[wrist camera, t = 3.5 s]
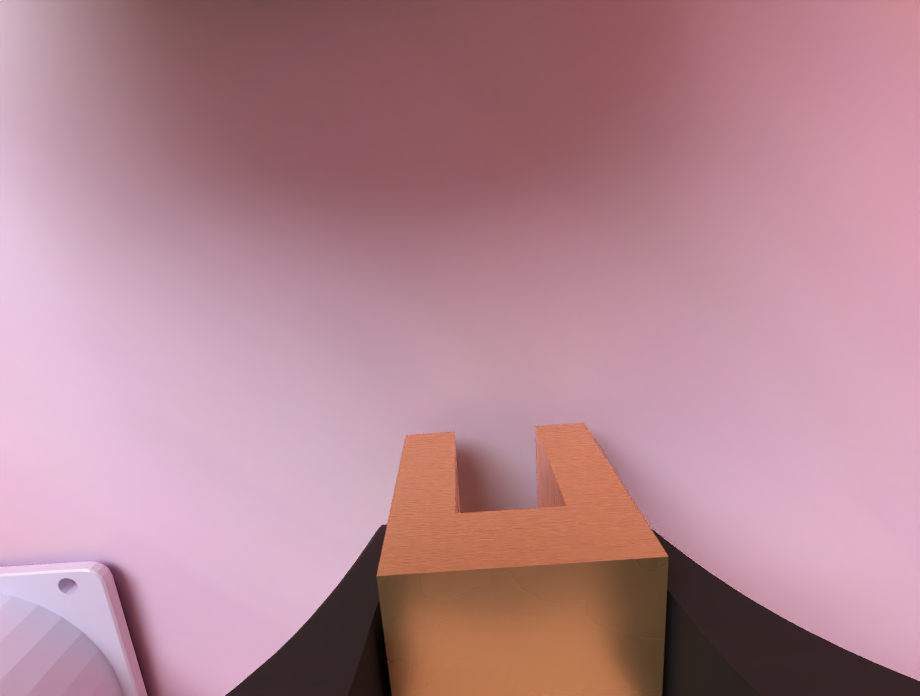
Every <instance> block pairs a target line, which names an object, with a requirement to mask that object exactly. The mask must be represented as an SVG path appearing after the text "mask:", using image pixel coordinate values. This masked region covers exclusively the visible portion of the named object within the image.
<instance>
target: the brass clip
mask: <svg viewBox="0 0 920 696" xmlns="http://www.w3.org/2000/svg"><path fill="white" fill-rule="evenodd" d="M535 427H536V460H537V493H538V508H529V509H514V510H499V511H484V512H469V513H461V511H460V498H459V484H458V471H457V458H456V444H455V432H445V433H430V434H415V435H406V438H405V442H404V447H403V452H402V457H401V461H400V466H399V471H398V476H397V480H396V485H395V490H394V495H393V500H392V504H391V509H390V514H389V519H388V523H387V528H386V533H385V538H384V542H383V547H382V552H381V557H380V561H379V566H378V571H377V576H376V577H377V585H378V592H379V600H380V608H381V616H382V623H383V631H384V639H385V647H386V654H387V662H388V670H389V678H390V685H391V693H392V696H662V687H663V666H664V644H665V623H666V602H667V581H668V559H669V556H668V555H667V553H666V552H665V550H664V548H663V547H662V545H661V544H660V542H659V541H658V539H657V537H656V536H655V534H654V533H653V531H652V530H651V528H650V526H649V525H648V523H647V522H646V520H645V518H644V517H643V515H642V514H641V512H640V511H639V509H638V507H637V506H636V504H635V503H634V501H633V500H632V498H631V496H630V495H629V493H628V492H627V490H626V488H625V487H624V485H623V484H622V482H621V481H620V479H619V477H618V476H617V474H616V473H615V471H614V470H613V468H612V466H611V465H610V463H609V462H608V460H607V458H606V457H605V455H604V454H603V452H602V451H601V449H600V447H599V446H598V444H597V443H596V441H595V440H594V438H593V436H592V435H591V433H590V432H589V430H588V428H587V427H586V425H585V424H584V423H577V424H563V425H548V426H535Z"/></svg>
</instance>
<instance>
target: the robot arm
mask: <svg viewBox="0 0 920 696" xmlns="http://www.w3.org/2000/svg"><path fill="white" fill-rule="evenodd" d="M386 528H387V525H381V527H380V528H379V529H378V530H377V531H376V533H375V534H374V536H373V537H372V539H371V540H370V542H369V543H368V545H367V546H366V548H365V549H364V551H363V552H362V553H361V555H360V556H359V558H358V559H357V560H356V562H355V563H354V565H353V566H352V567H351V569H350V570H349V571H348V572H347V574H346V575H345V576H344V578H343V579H342V580H341V582H340V583H339V584H338V586H337V587H336V588H335V589H334V591H333V592H332V593H331V594H330V595H329V597H328V598H327V599H326V600H325V601H324V602H323V604H322V605H321V606H320V607H319V608H318V609H317V611H316V612H315V613H314V614H313V615H312V616H311V618H310V619H309V620H308V621H307V622H306V623H305V624H304V625H303V626H302V627H301V628H300V629H299V630H298V631H297V632H296V634H295V635H294V636H293V637H292V638H291V639H290V640H289V641H288V642H287V643H286V644H285V645H284V646H283V647H282V648H280V649H279V650H278V651H277V652H276V653H275V654H274V655H273V656H272V657H271V658H270V659H268V660H267V661H266V662H265V663H264V664H263V665H261V666H260V667H259V668H258V669H257V670H256V671H254V672H253V673H252V674H251V675H250V676H249V677H247V678H246V679H245V680H244V681H243V682H242V683H240V684H239V685H238V686H237V687H236V688H234V689H233V690H232V691H231V692H229V693H228V694H227V695H225V696H392V693H391V685H390V678H389V670H388V662H387V654H386V647H385V639H384V631H383V623H382V616H381V608H380V600H379V592H378V585H377V577H376V576H377V571H378V566H379V561H380V557H381V552H382V547H383V542H384V538H385V533H386ZM651 530H652V529H651ZM652 531H653V533H654V534H655V536H656V537H657V539H658V541H659V542H660V544H661V545H662V547H663V548H664V550H665V552H666V553H667V555H668V556H669V559H668V581H667V602H666V623H665V644H664V666H663V687H662V696H920V681H917V680H915V679H912V678H910V677H908V676H905V675H903V674H900V673H898V672H895V671H893V670H891V669H888V668H886V667H883V666H881V665H879V664H876V663H874V662H872V661H869V660H867V659H865V658H863V657H861V656H858V655H856V654H854V653H852V652H849V651H847V650H845V649H843V648H841V647H839V646H837V645H835V644H833V643H831V642H829V641H827V640H825V639H823V638H821V637H819V636H817V635H815V634H812V633H810V632H808V631H806V630H804V629H803V628H801V627H799V626H797V625H795V624H793V623H791V622H789V621H787V620H786V619H784V618H782V617H780V616H779V615H777V614H775V613H773V612H772V611H770V610H768V609H767V608H765V607H763V606H761V605H760V604H758V603H756V602H754V601H753V600H751V599H749V598H748V597H746V596H745V595H743V594H741V593H740V592H738V591H737V590H735V589H733V588H732V587H730V586H729V585H727V584H726V583H725V582H723V581H722V580H720V579H719V578H717V577H716V576H714V575H713V574H711V573H710V572H708V571H707V570H705V569H704V568H703V567H701V566H700V565H698V564H697V563H695V562H694V561H693V560H691V559H690V558H689V557H687V556H686V555H685V554H683V553H682V552H681V551H679V550H678V549H677V548H675V547H674V546H673V545H671V544H670V543H669V542H668V541H666V540H665V539H664V538H663V537H661V536H660V535H659V534H657V533H656V532H655V531H654V530H652ZM71 579H72V580H73V581H75V582H76V583H74V582H73V581H71ZM0 696H147V693H146V689H145V686H144V682H143V679H142V675H141V672H140V668H139V665H138V661H137V658H136V655H135V651H134V648H133V644H132V641H131V637H130V634H129V630H128V627H127V624H126V620H125V617H124V613H123V610H122V606H121V603H120V599H119V596H118V592H117V589H116V586H115V582H114V579H113V575H112V573H111V571H110V570H109V568H108V567H106V566H105V565H104V564H102V563H99V562H94V561H85V562H69V563H54V564H39V565H23V566H8V567H0Z"/></svg>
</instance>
